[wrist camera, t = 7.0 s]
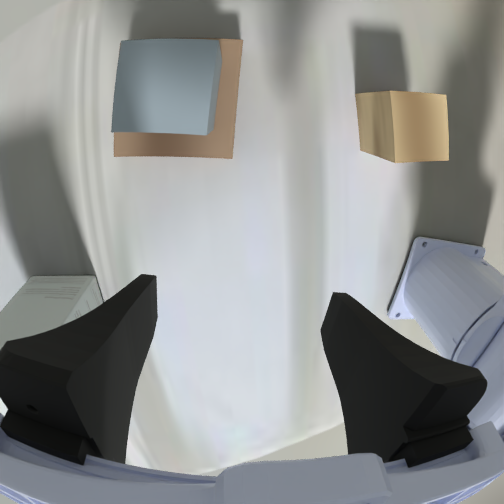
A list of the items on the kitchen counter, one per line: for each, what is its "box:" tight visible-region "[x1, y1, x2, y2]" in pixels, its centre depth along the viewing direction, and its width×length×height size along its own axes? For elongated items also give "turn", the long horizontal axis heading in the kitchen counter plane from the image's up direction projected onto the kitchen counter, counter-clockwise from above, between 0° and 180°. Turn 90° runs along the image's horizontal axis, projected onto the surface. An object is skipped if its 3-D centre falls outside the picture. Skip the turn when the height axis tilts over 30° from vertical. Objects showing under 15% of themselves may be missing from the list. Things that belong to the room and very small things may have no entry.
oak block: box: [355, 91, 449, 163], centre depth 16 cm, size 4×4×5 cm
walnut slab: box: [114, 38, 243, 159], centre depth 16 cm, size 7×7×3 cm
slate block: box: [111, 39, 222, 135], centre depth 12 cm, size 4×4×5 cm
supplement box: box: [0, 276, 103, 416], centre depth 18 cm, size 7×7×13 cm
